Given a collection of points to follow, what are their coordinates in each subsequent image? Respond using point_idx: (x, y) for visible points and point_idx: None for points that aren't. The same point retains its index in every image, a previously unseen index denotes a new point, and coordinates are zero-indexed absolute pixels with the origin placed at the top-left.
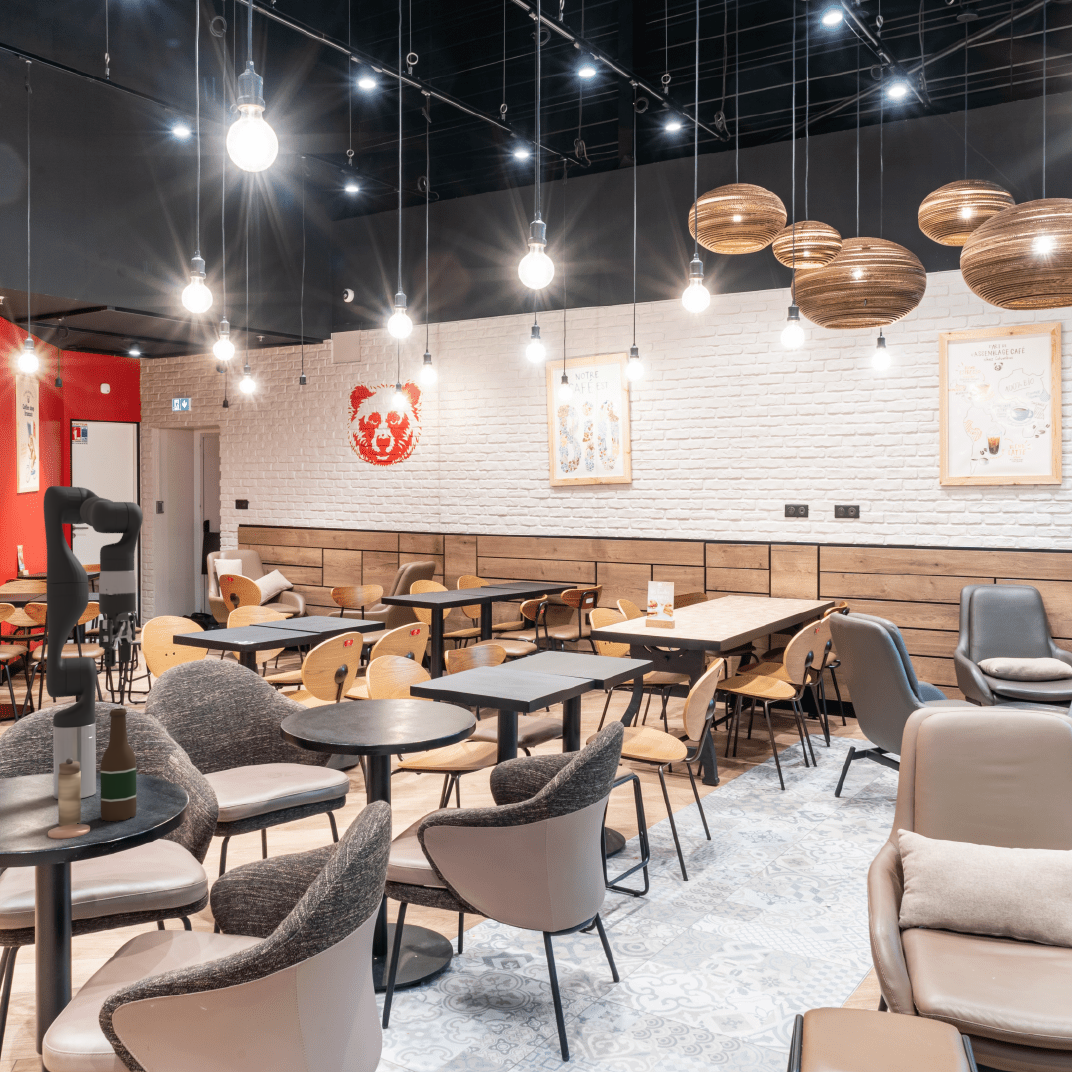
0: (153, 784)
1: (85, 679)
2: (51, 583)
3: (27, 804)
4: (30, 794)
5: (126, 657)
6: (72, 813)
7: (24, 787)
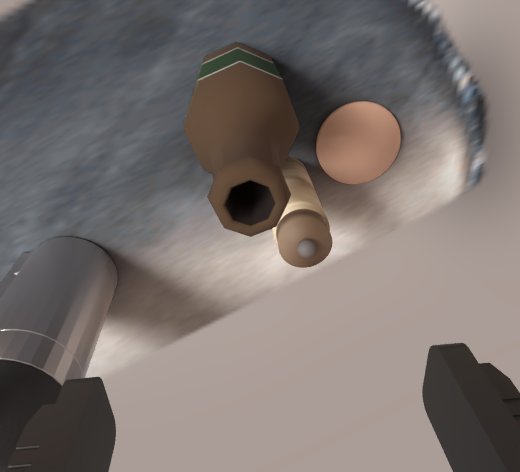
0: None
1: None
2: None
3: (154, 322)
4: None
5: (94, 422)
6: (306, 173)
7: None
